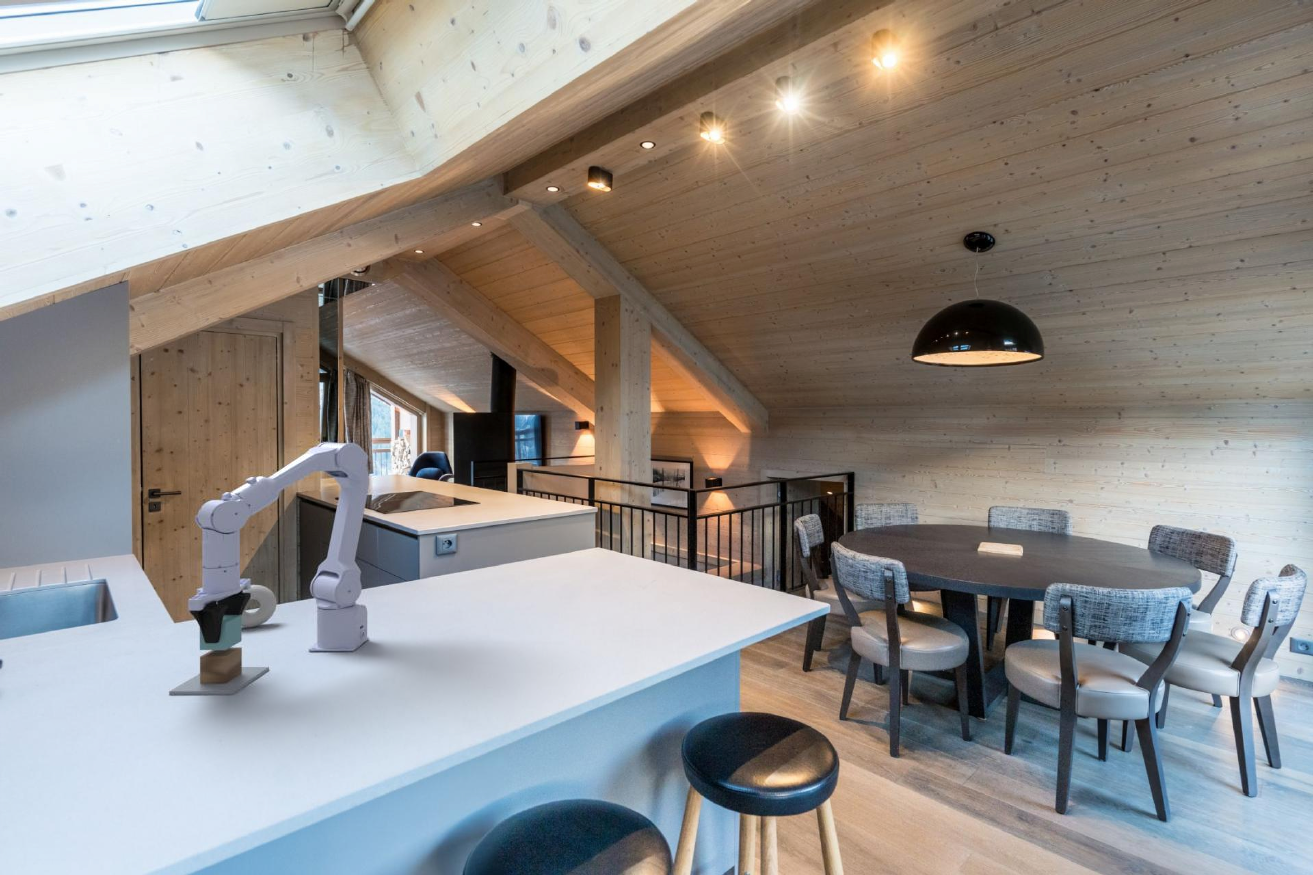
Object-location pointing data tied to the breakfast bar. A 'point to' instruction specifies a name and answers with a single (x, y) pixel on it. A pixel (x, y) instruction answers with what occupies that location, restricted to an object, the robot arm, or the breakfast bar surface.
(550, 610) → the breakfast bar surface
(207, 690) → the baseplate
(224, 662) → the walnut brick
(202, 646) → the teal brick
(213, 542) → the robot arm
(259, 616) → the donut
